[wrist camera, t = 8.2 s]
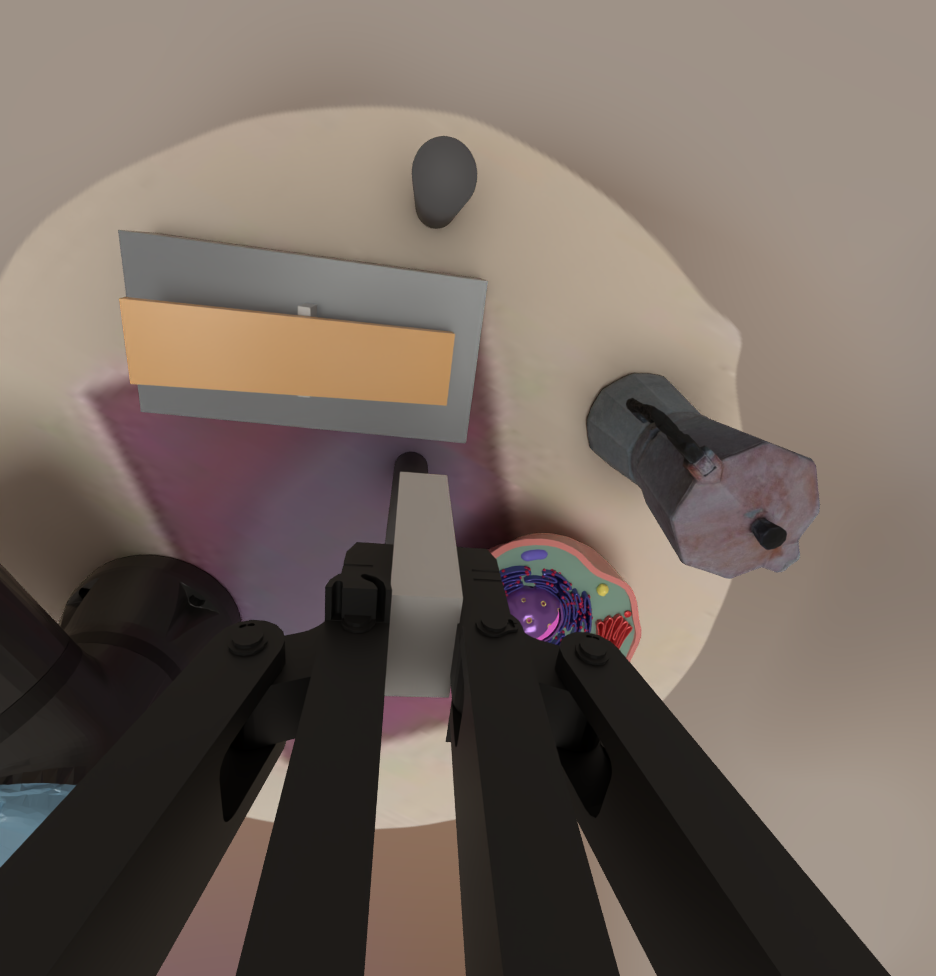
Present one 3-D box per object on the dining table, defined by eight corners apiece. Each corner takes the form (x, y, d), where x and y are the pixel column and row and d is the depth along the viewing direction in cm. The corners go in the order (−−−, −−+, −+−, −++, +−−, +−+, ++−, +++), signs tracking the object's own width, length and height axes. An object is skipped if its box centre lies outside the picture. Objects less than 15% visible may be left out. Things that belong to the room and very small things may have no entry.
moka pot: (645, 504, 50) (773, 646, 32) (531, 407, 45) (606, 509, 27) (721, 431, 48) (906, 540, 30) (609, 320, 43) (749, 368, 25)
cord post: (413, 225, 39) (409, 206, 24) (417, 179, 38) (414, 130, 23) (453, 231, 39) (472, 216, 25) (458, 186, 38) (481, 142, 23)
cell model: (506, 679, 58) (524, 770, 48) (404, 553, 50) (400, 630, 40) (641, 608, 56) (691, 688, 45) (555, 464, 48) (592, 521, 38)
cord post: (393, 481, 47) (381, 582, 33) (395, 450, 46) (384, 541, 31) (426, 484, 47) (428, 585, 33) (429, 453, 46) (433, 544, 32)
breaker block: (171, 394, 42) (124, 420, 36) (154, 233, 38) (97, 228, 31) (461, 424, 45) (468, 453, 39) (480, 278, 41) (491, 282, 34)
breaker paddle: (135, 379, 33) (130, 383, 32) (125, 296, 31) (119, 298, 30) (444, 401, 38) (446, 405, 37) (452, 331, 36) (455, 334, 35)
